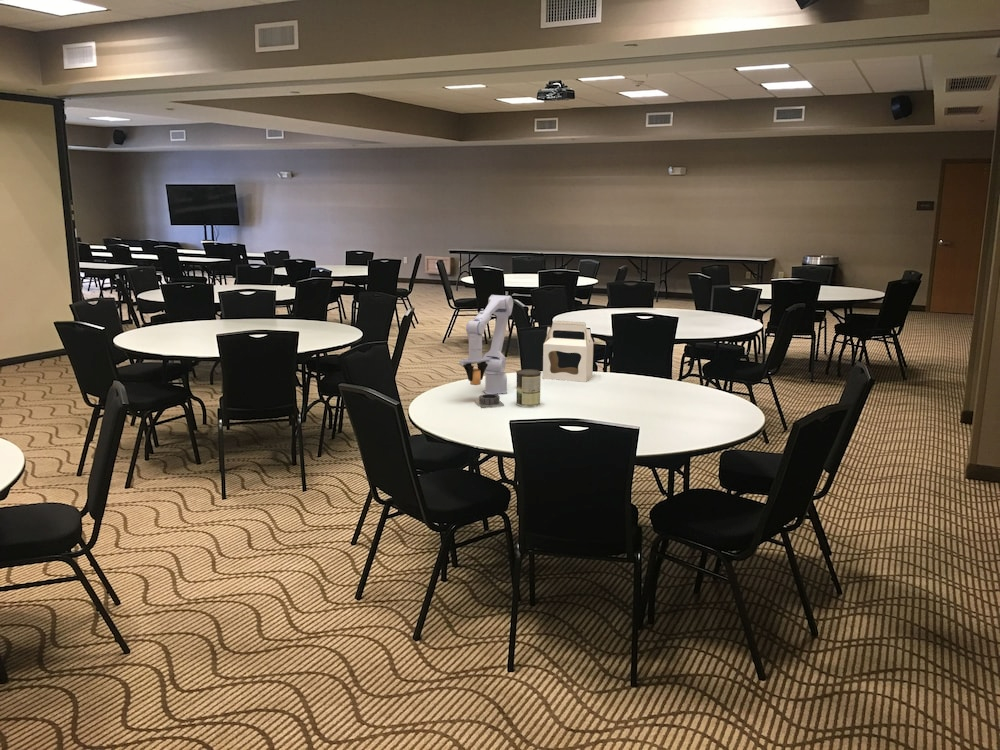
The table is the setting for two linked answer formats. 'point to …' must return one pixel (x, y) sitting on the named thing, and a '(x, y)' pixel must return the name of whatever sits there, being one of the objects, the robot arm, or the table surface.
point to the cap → (476, 377)
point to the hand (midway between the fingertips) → (475, 380)
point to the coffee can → (528, 387)
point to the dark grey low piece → (489, 401)
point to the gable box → (568, 346)
